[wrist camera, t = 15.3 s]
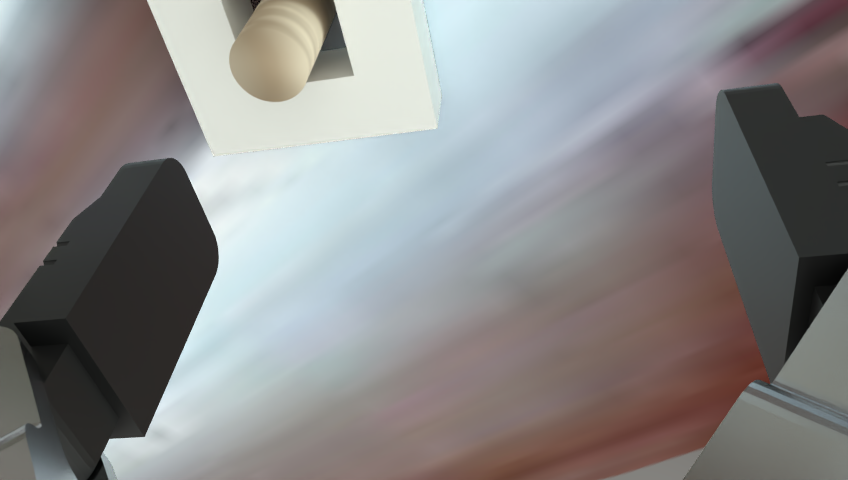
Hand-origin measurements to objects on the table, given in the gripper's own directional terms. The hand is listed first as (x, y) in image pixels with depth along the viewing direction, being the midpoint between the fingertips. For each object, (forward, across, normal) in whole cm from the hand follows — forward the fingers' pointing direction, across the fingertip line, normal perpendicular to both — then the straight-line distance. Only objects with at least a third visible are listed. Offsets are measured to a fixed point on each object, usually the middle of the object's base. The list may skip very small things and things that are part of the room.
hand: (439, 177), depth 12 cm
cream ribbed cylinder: (+33, +12, +9) cm, 36 cm away
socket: (+33, +12, +9) cm, 36 cm away
